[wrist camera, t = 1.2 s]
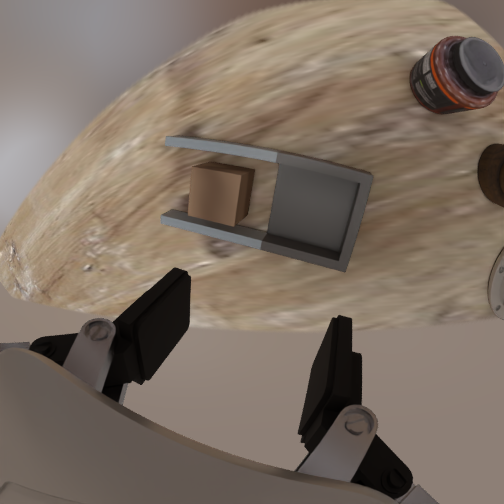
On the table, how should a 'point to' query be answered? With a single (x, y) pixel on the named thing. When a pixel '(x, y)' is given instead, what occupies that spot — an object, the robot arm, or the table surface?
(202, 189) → the walnut block
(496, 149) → the pepper mill
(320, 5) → the table surface
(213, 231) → the grey u-shaped bracket
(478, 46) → the supplement bottle
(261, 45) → the table surface
